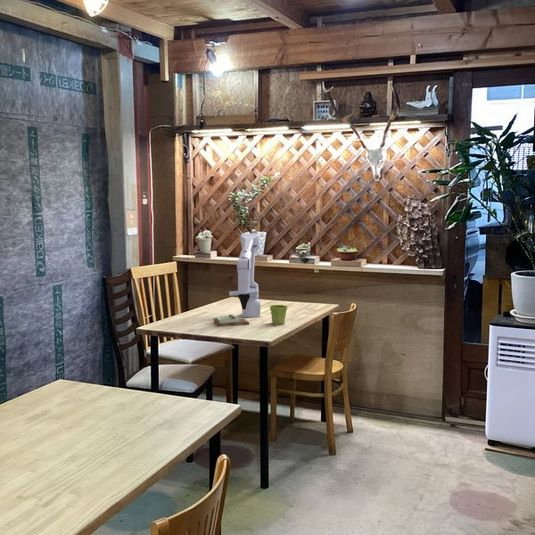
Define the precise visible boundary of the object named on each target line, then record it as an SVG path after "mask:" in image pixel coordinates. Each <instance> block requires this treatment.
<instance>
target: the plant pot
mask: <svg viewBox="0 0 535 535" xmlns="http://www.w3.org/2000/svg"><path fill="white" fill-rule="evenodd" d="M269 308H270V314H271V321H272V322H271V323H272V324H274V325H283V324H285V322H286V316H287V311H288V308H289V306H288V305H284V304H271V305H269Z"/></svg>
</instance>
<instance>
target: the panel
mask: <svg viewBox="0 0 535 535" xmlns="http://www.w3.org/2000/svg"><path fill="white" fill-rule="evenodd" d="M215 319H217V320H218V321H219V323H233V322H239V319H240V318H239V317H237V316H236V318H235V319H232V318H231V317H230V316H229V315H227V316H226V315H225V316H215Z"/></svg>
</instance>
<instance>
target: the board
mask: <svg viewBox="0 0 535 535" xmlns="http://www.w3.org/2000/svg"><path fill="white" fill-rule="evenodd" d="M228 316H230V317H231V318H232V319H235V318H236V317H237V316H236V315H234V314H228ZM213 323H214V325H215V326H217V327H227V326H226V325H230V326H244V325H245V326H246V325H250V321H248V320H247V319H245V318H239V322H233V323H219V321H218V320H217V319H216V317H213Z"/></svg>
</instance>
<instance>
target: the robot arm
mask: <svg viewBox="0 0 535 535" xmlns="http://www.w3.org/2000/svg"><path fill="white" fill-rule="evenodd" d="M260 243H261V236H260V233H259V232H258V233H244V232H242V233H240V246H241V248H242V249H241V251H240V254H239V257H238V259H237V261H236V268H237V272H236V273H237V290H232V291H228V292H229V293H228V294H229V296H231V297H233V296H237V298H238V301H239V302H240V306H241V312H242V313H239V315H240V317H241V316H242V317H243V318H256V317H258V318H259V317H261V301H260V299H259V291H260V290H259V284H258V283H257V282H255V281H254V280H255V278H254V277H255V262H256V261H255V258H256V257H255V255H256V252H257V251H259V250H260V246H261V245H260Z"/></svg>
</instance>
